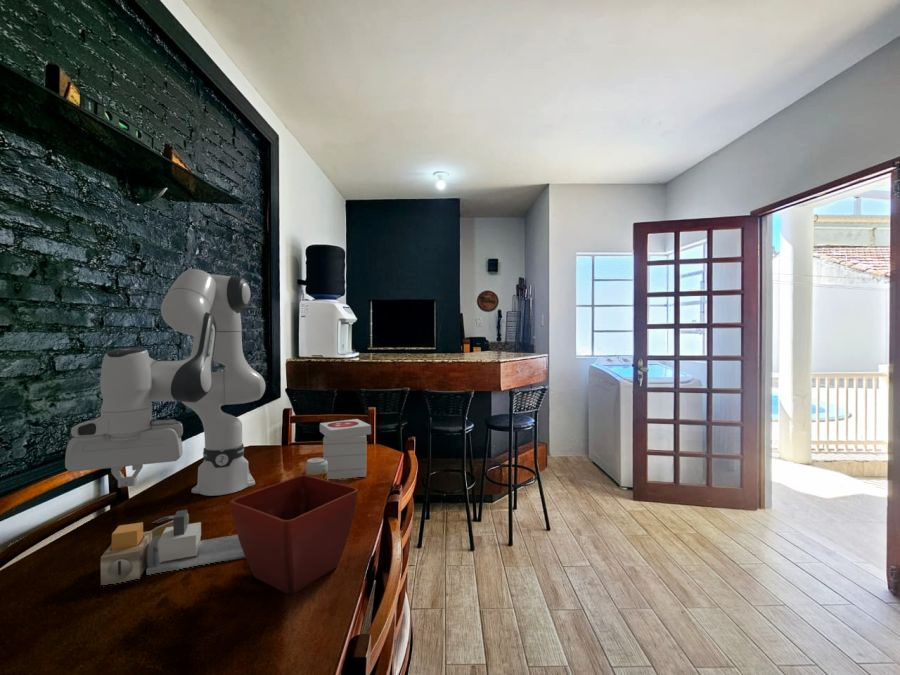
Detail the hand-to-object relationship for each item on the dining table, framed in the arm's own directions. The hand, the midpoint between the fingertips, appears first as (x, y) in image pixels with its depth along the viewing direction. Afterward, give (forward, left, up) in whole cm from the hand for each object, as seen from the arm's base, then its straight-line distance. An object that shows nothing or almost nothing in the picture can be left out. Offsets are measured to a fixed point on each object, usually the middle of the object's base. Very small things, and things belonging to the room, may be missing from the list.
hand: (127, 486), depth 91 cm
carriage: (0, +10, -17) cm, 19 cm away
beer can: (-16, +41, -19) cm, 48 cm away
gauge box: (0, 0, -19) cm, 19 cm away
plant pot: (+15, +34, -19) cm, 41 cm away
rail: (0, +17, -19) cm, 25 cm away
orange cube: (0, 0, -13) cm, 13 cm away
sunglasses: (-18, +1, -19) cm, 26 cm away
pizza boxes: (-54, +55, -19) cm, 79 cm away
